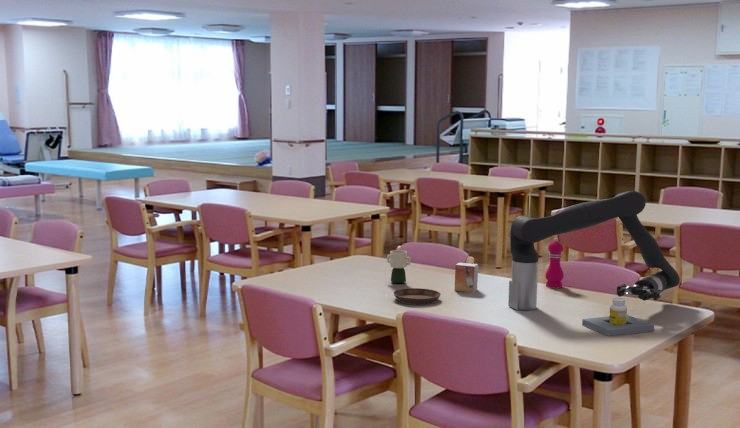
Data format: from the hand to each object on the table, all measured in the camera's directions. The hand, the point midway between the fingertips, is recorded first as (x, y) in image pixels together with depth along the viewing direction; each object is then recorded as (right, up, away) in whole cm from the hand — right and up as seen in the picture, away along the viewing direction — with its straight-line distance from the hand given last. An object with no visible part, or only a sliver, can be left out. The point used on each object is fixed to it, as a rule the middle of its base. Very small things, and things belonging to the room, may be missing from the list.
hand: (631, 295), depth 279 cm
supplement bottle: (-7, -10, -7) cm, 14 cm away
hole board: (-7, -10, -7) cm, 14 cm away
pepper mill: (-15, -2, +52) cm, 54 cm away
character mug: (-78, -1, +56) cm, 96 cm away
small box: (-51, -3, +44) cm, 68 cm away
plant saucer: (-72, -5, +28) cm, 77 cm away
